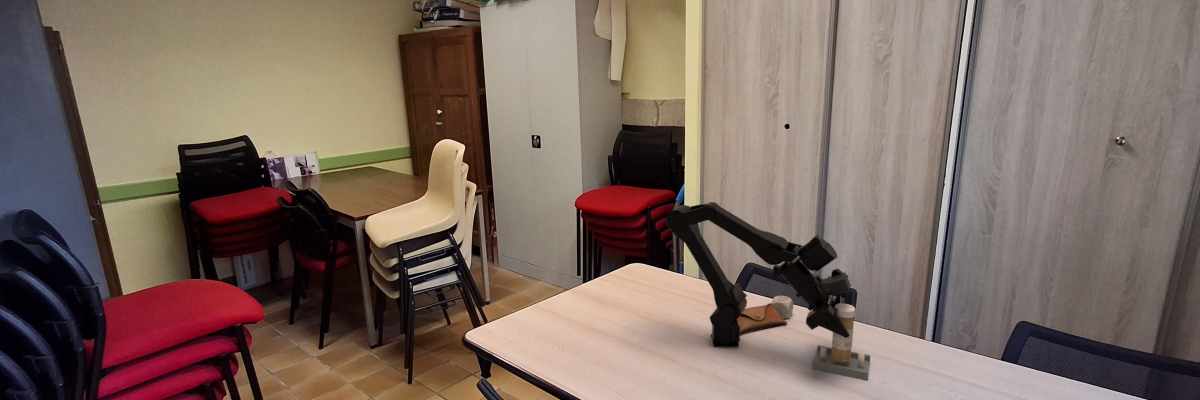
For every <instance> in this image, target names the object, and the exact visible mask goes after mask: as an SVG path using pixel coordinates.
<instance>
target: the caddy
mask: <svg viewBox="0 0 1200 400" xmlns="http://www.w3.org/2000/svg"><path fill="white" fill-rule="evenodd" d="M816 349H817V350H816V354H815V356H814V359H813V360H812V364H811V369H812V370H815V371H816V370H817V371H822V372H826V373H832V374H837V375H841V376H846V377H852V378H856V379H861V380H864V381H868V379H869V378H868V377H869V370H870V363H871V354H866V353H862V352H856V351H852V350H851V360H850V361H849V362H838V361H835V360H834V359H833V358H831V353H832V346H831V347H830V346H825V345H819V344H818V345H817V348H816Z"/></svg>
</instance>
